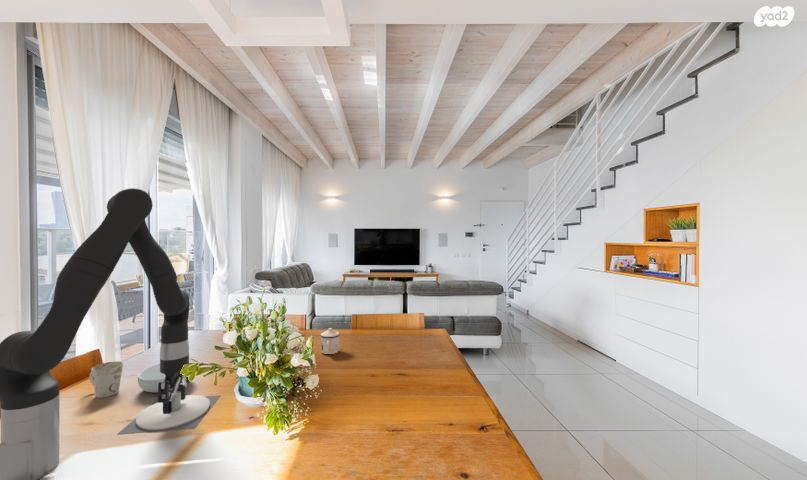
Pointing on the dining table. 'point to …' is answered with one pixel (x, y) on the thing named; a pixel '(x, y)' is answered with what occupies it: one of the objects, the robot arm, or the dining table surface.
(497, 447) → the dining table surface
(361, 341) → the dining table surface
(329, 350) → the teacup with lid
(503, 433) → the dining table surface
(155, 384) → the cereal bowl
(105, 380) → the mug
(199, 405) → the lid
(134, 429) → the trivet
